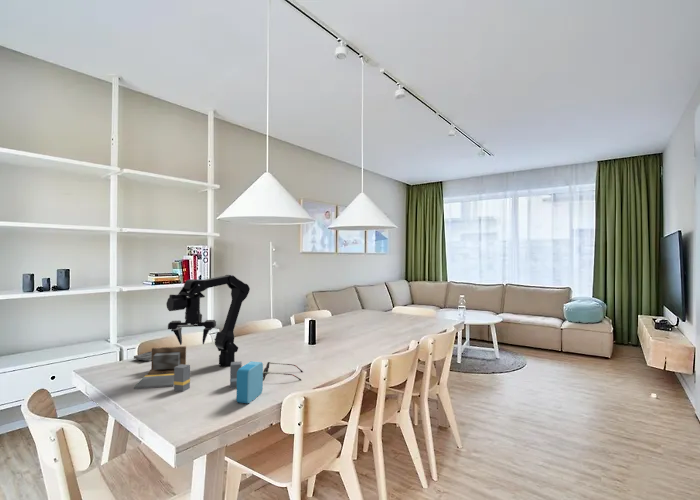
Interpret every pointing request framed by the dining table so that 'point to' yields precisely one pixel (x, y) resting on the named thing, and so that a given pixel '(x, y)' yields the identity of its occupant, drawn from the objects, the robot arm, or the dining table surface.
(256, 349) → the dining table surface
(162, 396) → the dining table surface
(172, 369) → the mounted unit
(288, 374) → the sunglasses
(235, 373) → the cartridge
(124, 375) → the dining table surface
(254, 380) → the blue flat block
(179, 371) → the block
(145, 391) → the dining table surface
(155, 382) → the pad
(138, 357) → the graphics card
